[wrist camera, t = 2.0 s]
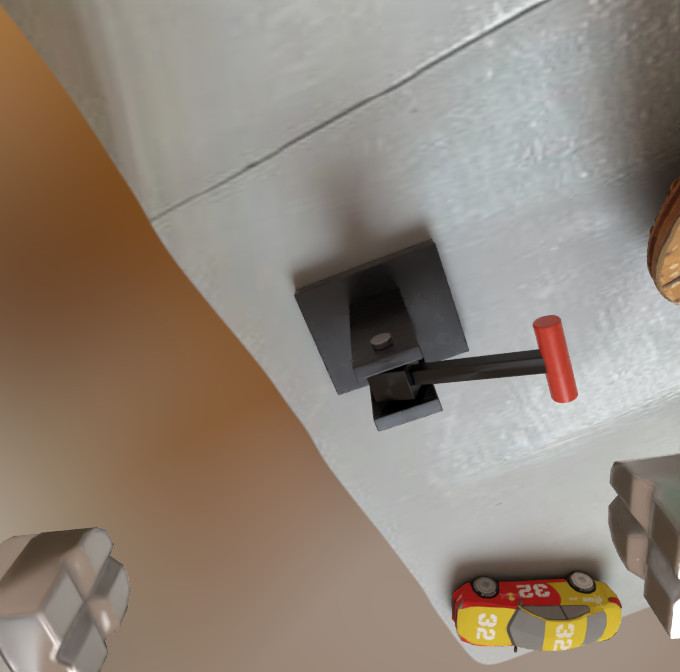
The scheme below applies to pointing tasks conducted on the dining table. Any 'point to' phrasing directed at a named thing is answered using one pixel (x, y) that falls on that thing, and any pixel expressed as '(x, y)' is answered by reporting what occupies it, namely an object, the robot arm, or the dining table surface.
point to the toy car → (536, 612)
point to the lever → (488, 368)
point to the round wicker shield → (666, 247)
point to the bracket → (385, 325)
